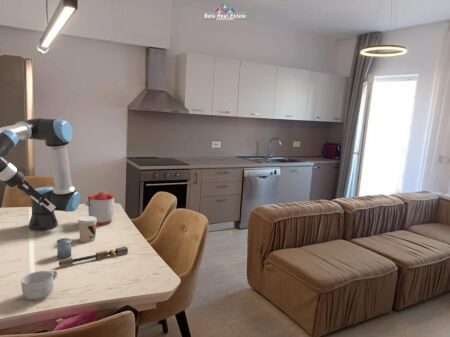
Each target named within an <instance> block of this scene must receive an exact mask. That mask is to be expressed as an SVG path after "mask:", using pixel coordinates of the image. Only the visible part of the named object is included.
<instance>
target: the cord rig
mask: <svg viewBox="0 0 450 337" xmlns="http://www.w3.org/2000/svg"><path fill="white" fill-rule="evenodd" d="M128 254H129V248H128V247H127V246H126V245H125V246H120V247H116V248H115V250H114V249H110V250H109V251H107V250H103V251H98V252H95V254H92V255H91V254H90V255H87V256H82V257H77V258H72V257H70V258H67V259H59V261H58V266H59V268H60V269H64V268H68V267H73V265H74V263H76V262H77V263H78V262H82V261H87V260H90V259H91V260H92V259H95V260H96V261H99V260H104V259H108V257H109V256H115V255H116V256H118V257H121V256H125V255H128Z"/></svg>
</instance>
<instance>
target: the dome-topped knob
mask: <svg viewBox="0 0 450 337" xmlns="http://www.w3.org/2000/svg"><path fill="white" fill-rule="evenodd" d="M56 248H57V257H56V258H57V259H59V260H63V259H68V258H72V239H71V238H69V237H66V238H65V237H64V238H59V239H57V240H56Z"/></svg>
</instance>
